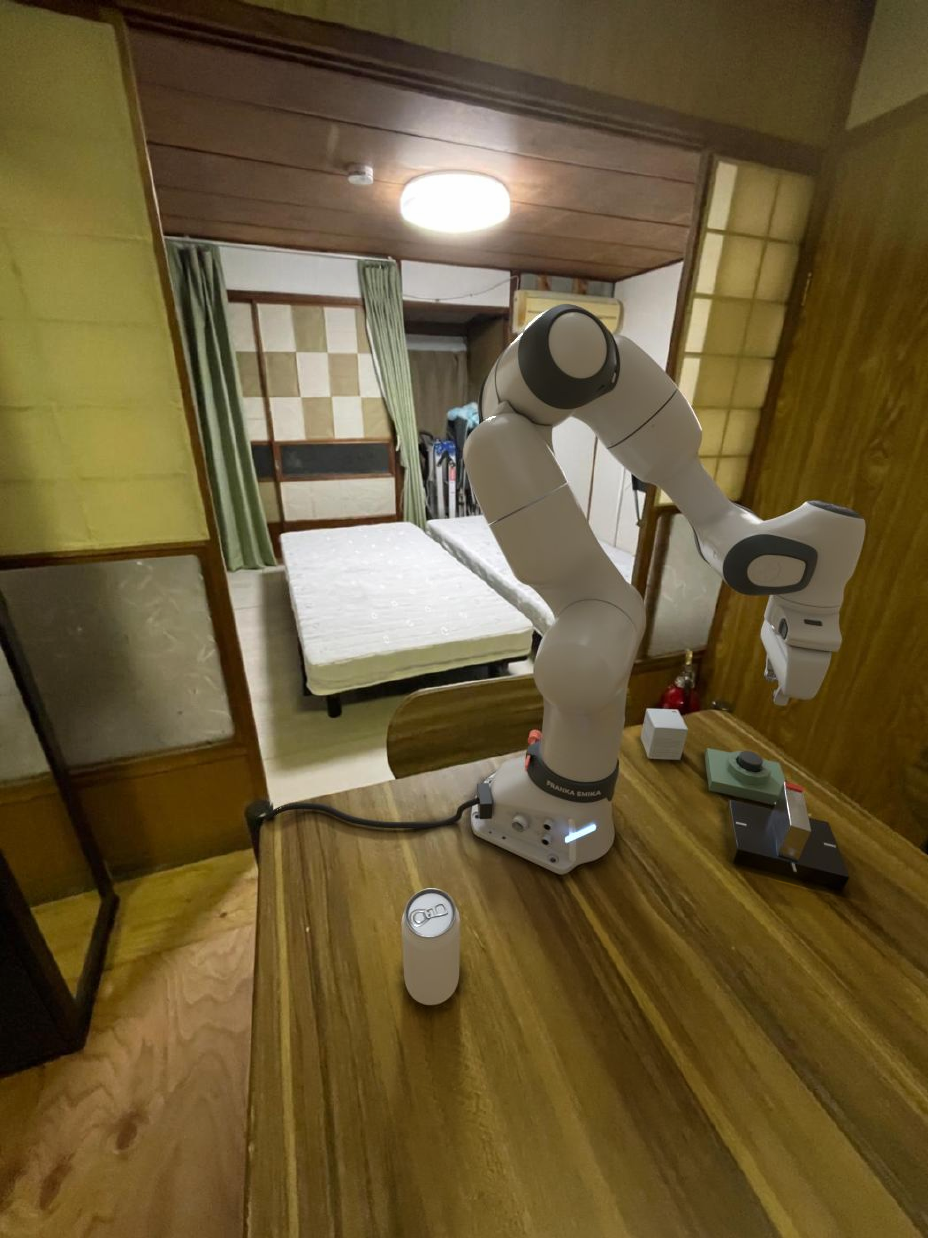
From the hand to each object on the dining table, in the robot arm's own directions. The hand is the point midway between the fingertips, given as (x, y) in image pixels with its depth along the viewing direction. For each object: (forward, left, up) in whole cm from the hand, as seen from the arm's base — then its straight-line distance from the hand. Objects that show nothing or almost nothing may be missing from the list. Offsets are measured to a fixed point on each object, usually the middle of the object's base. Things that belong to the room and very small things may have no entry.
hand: (774, 690), depth 82 cm
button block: (0, 0, -19) cm, 19 cm away
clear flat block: (+3, -14, -16) cm, 21 cm away
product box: (-14, +4, -19) cm, 24 cm away
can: (-40, -48, -19) cm, 65 cm away
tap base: (+3, -14, -19) cm, 24 cm away
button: (0, 0, -16) cm, 16 cm away
